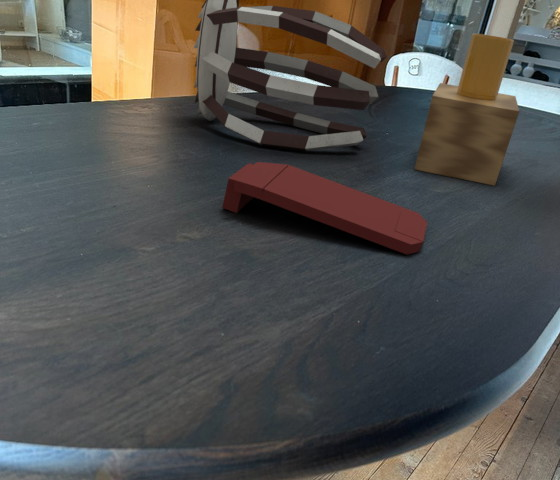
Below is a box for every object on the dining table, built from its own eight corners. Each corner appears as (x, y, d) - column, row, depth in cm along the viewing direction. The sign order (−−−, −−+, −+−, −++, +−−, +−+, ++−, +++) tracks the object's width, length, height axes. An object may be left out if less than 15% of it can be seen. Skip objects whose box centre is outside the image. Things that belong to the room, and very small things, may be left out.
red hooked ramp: (413, 249, 81) (246, 186, 83) (428, 216, 78) (255, 152, 80) (405, 284, 71) (216, 212, 73) (422, 248, 68) (224, 173, 70)
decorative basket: (214, 103, 126) (371, 147, 121) (156, 127, 104) (344, 182, 99) (229, -32, 111) (407, 11, 106) (165, -36, 90) (385, 18, 85)
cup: (495, 96, 104) (513, 39, 99) (496, 102, 99) (514, 41, 94) (457, 89, 106) (472, 32, 101) (455, 94, 100) (471, 34, 95)
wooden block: (494, 162, 115) (515, 96, 108) (495, 185, 101) (519, 111, 94) (423, 148, 118) (439, 82, 111) (414, 169, 103) (432, 95, 96)
